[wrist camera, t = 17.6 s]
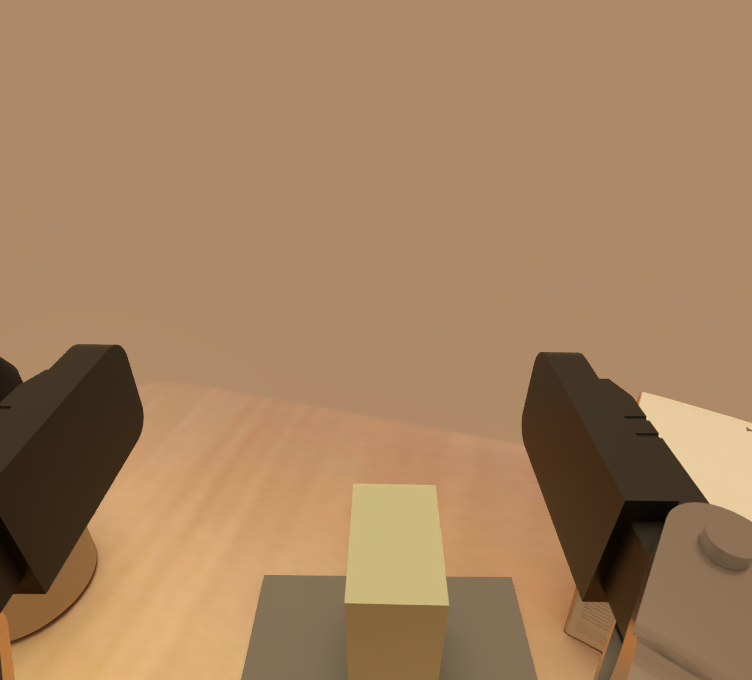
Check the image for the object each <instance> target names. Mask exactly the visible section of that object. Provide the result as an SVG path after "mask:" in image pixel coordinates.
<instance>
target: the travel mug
mask: <svg viewBox="0 0 752 680" xmlns="http://www.w3.org/2000/svg"><path fill="white" fill-rule="evenodd" d="M22 383H23V381H22V379H21V377H20V375H19V373H18V370H17V369H16V368H15V367H14V366H13V365H12V364H10V363H9V362H7V361H6V360H4V359H3V358H1V357H0V403H1V402H2V401H3V400H4V399H5V398H6V397H7V396H8V395H9V394H10V393H11V392H12V391H13V390H14V389H15V388H16V387H17V386H19V385H21V384H22ZM96 560H97V552H96V547H95V544H94V542H93V540H92V538H91V535H90V533H89V531H88V529H87V527H86V528H85V530H84V532H83V533H82V535H81V537H80V538H79V540H78V542H77V543H76V545H75V547H74V548H73V550H72V552H71V553H70V555H69V557H68V558H67V560H66V562H65V563H64V565H63V567H62V568H61V570H60V572H59V574H58V575H57V577H56V579H55V580H54V582H53V584H52V585H51V587H50V589H49V590H48V592H47V594H13V595H12V597H11V598H10V600H9V601H8V603H7V604H6V606H5V607H4V609H3V610H2V612H3V613H4V615H5V617H6V618H7V622H8V628H9V636H10V641H13V640H15V639H18V638H21V637H23V636H26V635H28V634H30V633H32V632H34V631H36V630H38V629H39V628H41V627H43V626H44V625H46V624H48V623H49V622H51V621H52V620H53V619H55V618H56V617H57V616H59V615H60V614H61V613H62V612H63V611H65V610H66V609H67V608H68V607H69V606H70V605H71V604H72V603H73V602H74V601H75V600H76V599H77V598H78V596H79V595H80V594H81V593H82V591H83V590H84V589H85V587H86V586H87V584H88V582H89V581H90V579H91V577H92V574H93V572H94V569H95V566H96Z"/></svg>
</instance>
